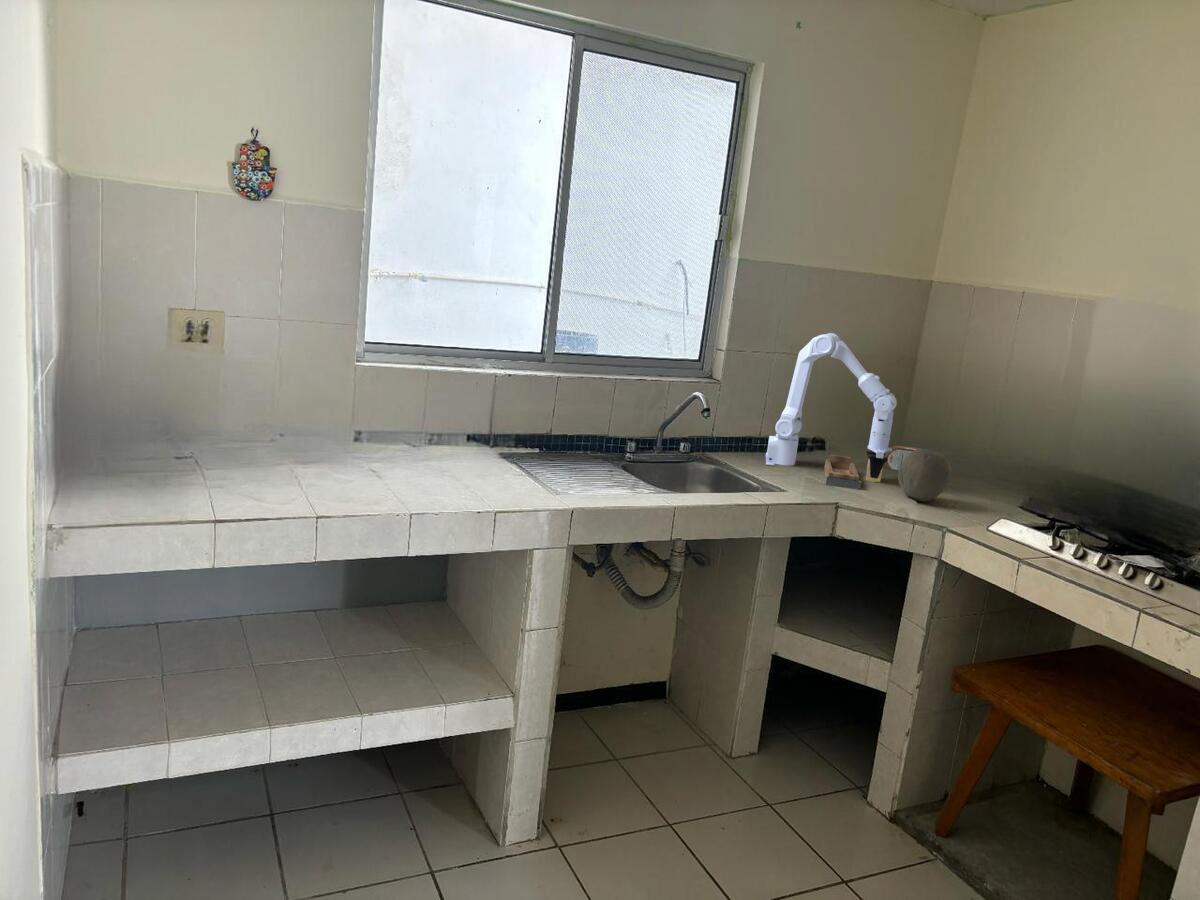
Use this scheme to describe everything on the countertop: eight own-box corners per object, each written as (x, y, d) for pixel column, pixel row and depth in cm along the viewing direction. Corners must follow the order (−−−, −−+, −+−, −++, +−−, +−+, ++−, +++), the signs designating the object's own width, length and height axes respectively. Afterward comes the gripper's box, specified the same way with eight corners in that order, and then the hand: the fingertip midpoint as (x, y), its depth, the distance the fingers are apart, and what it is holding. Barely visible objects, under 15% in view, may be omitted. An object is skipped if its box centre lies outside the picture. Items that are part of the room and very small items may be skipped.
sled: (827, 483, 276) (830, 467, 275) (824, 468, 296) (826, 454, 295) (857, 487, 275) (859, 471, 274) (851, 472, 294) (854, 457, 293)
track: (823, 487, 274) (825, 477, 273) (819, 466, 302) (820, 457, 301) (862, 492, 272) (863, 483, 272) (853, 470, 300) (855, 461, 299)
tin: (928, 474, 307) (932, 449, 305) (930, 476, 304) (935, 451, 302) (881, 468, 308) (886, 443, 306) (883, 470, 305) (887, 445, 303)
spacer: (866, 483, 285) (869, 460, 284) (865, 480, 289) (868, 458, 288) (879, 484, 285) (883, 462, 283) (878, 481, 289) (881, 459, 287)
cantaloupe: (939, 510, 261) (949, 458, 258) (889, 499, 268) (897, 448, 265) (950, 501, 273) (959, 451, 270) (901, 490, 280) (910, 441, 277)
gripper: (897, 439, 276) (889, 483, 279) (891, 430, 290) (884, 472, 293) (872, 436, 277) (865, 480, 280) (867, 427, 291) (861, 469, 294)
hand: (873, 476), depth 286 cm, fingers closed on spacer, 4 cm apart
